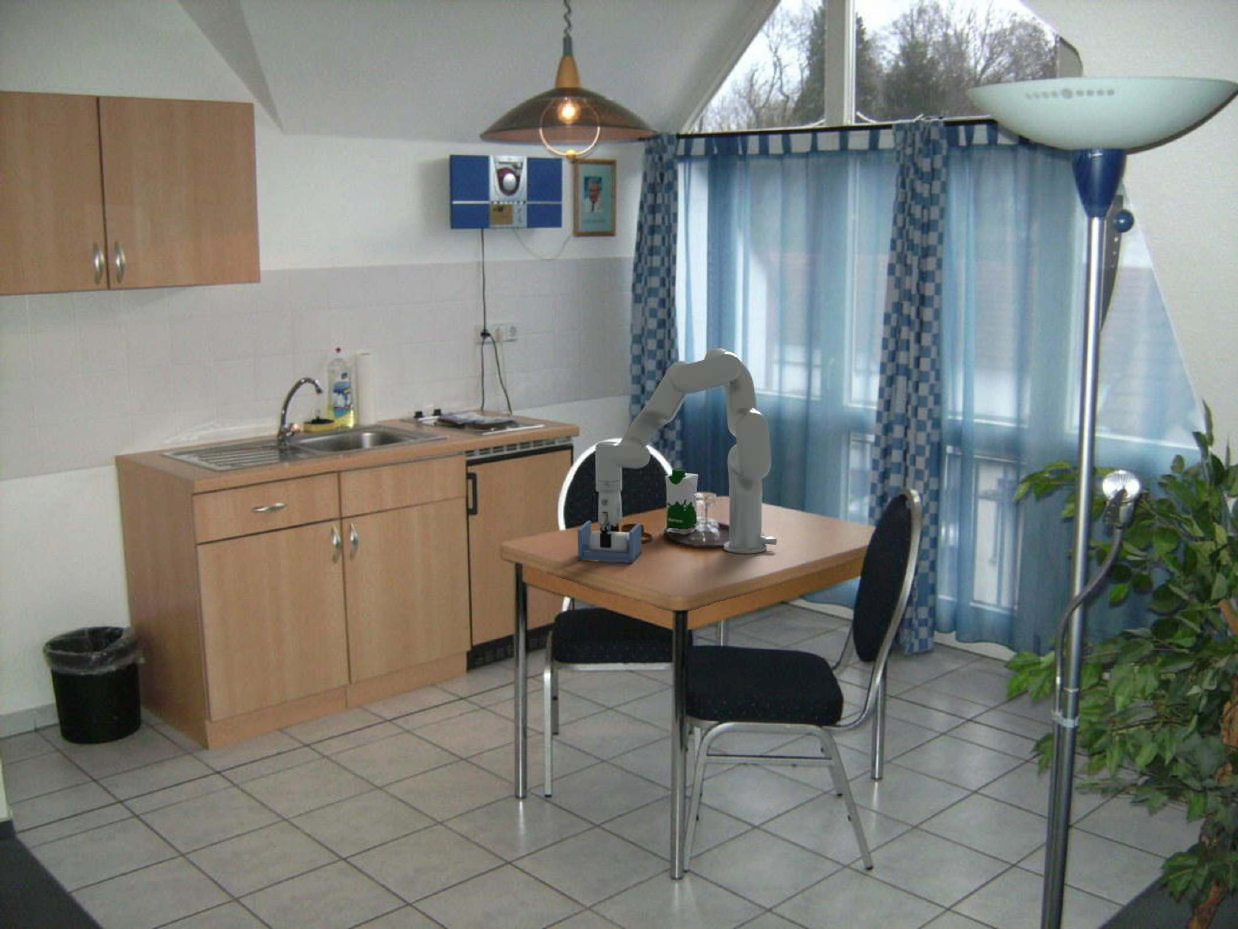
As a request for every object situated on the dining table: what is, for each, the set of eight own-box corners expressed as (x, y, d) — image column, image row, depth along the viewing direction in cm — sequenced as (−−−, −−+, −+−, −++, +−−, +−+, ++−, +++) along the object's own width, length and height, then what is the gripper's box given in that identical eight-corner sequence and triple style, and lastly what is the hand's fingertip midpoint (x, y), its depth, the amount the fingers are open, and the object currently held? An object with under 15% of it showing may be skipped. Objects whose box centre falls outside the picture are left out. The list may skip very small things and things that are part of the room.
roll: (633, 551, 368) (632, 529, 367) (628, 557, 362) (627, 536, 361) (593, 549, 371) (592, 528, 369) (587, 555, 365) (586, 534, 363)
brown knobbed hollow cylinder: (668, 542, 384) (668, 523, 383) (624, 555, 370) (624, 536, 369) (624, 533, 396) (624, 515, 395) (580, 546, 381) (580, 527, 380)
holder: (641, 553, 370) (641, 523, 368) (632, 563, 359) (632, 532, 358) (588, 550, 374) (587, 520, 372) (578, 560, 363) (577, 529, 361)
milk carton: (662, 533, 393) (662, 469, 389) (677, 526, 401) (676, 464, 397) (687, 536, 389) (687, 472, 385) (701, 530, 396) (701, 467, 392)
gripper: (614, 492, 353) (615, 551, 357) (628, 479, 370) (629, 536, 373) (588, 490, 355) (589, 550, 358) (603, 478, 372) (604, 535, 375)
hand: (609, 543), depth 366 cm, fingers open, 9 cm apart
